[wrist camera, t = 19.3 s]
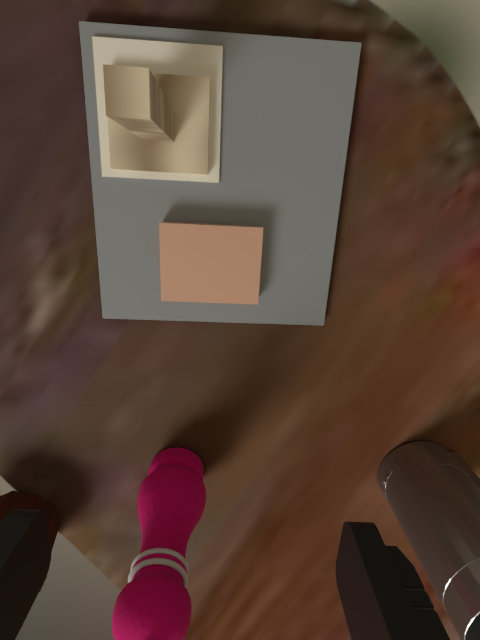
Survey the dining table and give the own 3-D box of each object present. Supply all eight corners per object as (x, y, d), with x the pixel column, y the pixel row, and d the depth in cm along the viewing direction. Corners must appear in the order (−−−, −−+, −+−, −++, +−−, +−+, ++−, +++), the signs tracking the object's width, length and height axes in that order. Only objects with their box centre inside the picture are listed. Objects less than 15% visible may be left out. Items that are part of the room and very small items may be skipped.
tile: (162, 221, 33) (261, 225, 33) (163, 296, 35) (256, 299, 36) (159, 222, 31) (263, 227, 32) (161, 301, 33) (258, 304, 34)
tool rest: (222, 47, 29) (222, 46, 28) (218, 182, 32) (218, 182, 32) (93, 37, 28) (92, 36, 28) (103, 176, 31) (101, 176, 31)
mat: (357, 47, 30) (361, 42, 29) (321, 322, 38) (323, 325, 37) (83, 26, 29) (78, 21, 28) (105, 315, 37) (102, 318, 36)
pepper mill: (181, 501, 45) (150, 724, 26) (134, 471, 43) (64, 687, 24) (220, 465, 43) (217, 675, 25) (172, 432, 42) (129, 631, 23)
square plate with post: (210, 81, 29) (202, 19, 19) (208, 174, 31) (200, 166, 21) (108, 73, 29) (43, 6, 18) (113, 169, 31) (58, 157, 21)
